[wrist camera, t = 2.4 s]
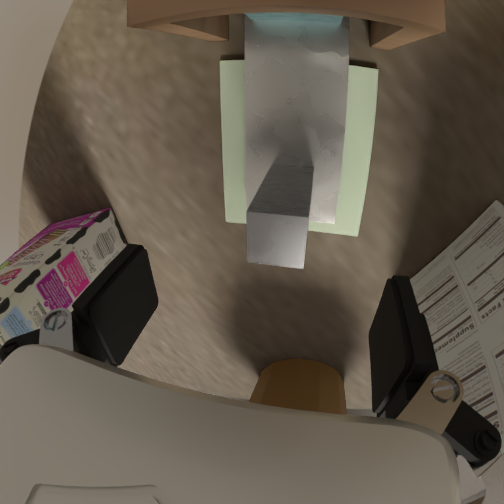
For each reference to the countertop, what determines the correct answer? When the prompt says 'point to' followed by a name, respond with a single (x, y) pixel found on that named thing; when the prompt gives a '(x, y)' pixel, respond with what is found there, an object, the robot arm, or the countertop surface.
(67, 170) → the countertop surface
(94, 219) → the candy bar box
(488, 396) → the supplement box
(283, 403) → the flowerpot
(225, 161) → the board
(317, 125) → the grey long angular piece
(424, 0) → the tunnel
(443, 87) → the countertop surface
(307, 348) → the countertop surface
